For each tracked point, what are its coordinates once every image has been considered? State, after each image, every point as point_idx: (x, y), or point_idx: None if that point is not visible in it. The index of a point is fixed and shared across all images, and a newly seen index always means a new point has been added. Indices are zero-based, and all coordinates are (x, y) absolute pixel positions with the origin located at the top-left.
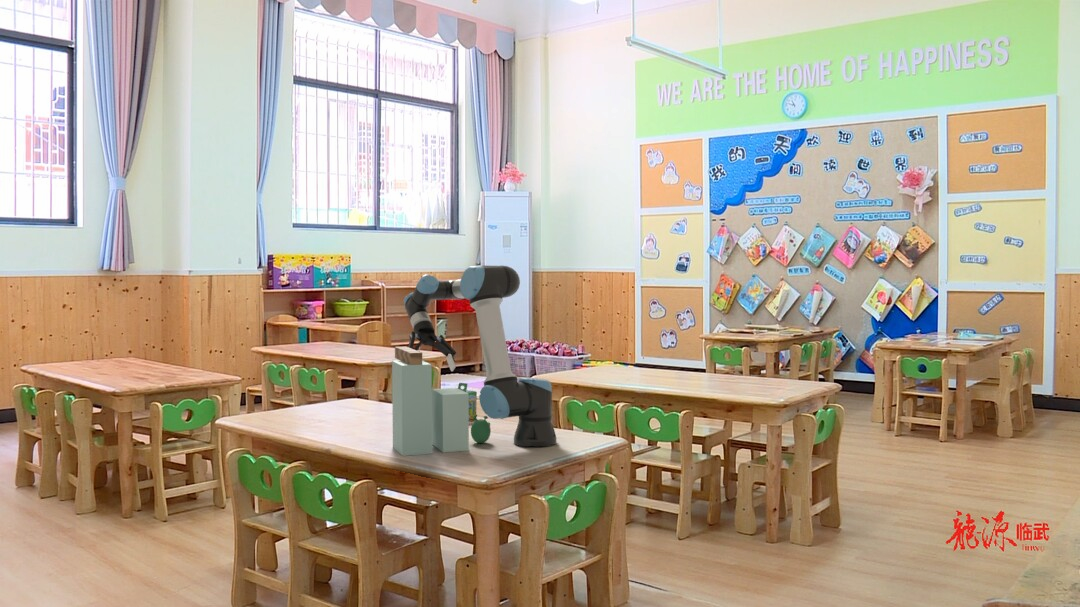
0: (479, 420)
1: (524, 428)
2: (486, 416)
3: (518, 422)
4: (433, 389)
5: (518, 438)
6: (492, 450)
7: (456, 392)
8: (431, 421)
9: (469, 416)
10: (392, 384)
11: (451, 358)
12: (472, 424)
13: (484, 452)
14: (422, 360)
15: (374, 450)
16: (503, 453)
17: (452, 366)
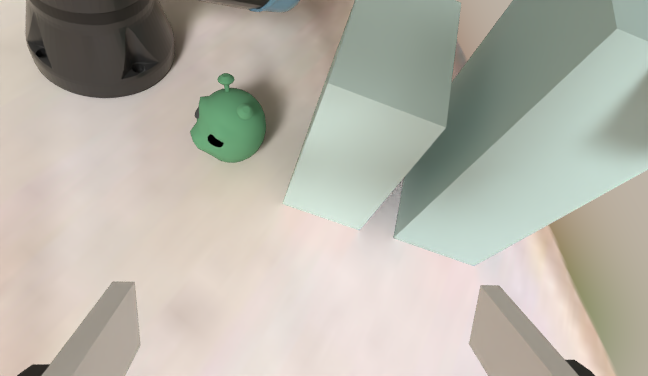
0: (245, 97)
1: (158, 4)
2: (224, 74)
3: (133, 29)
4: (442, 113)
5: (172, 41)
6: (267, 68)
7: (395, 2)
8: (454, 80)
9: None
10: (644, 168)
11: (73, 362)
12: (258, 126)
13: (297, 67)
14: (508, 308)
15: (527, 263)
16: (267, 33)
17: (128, 316)
